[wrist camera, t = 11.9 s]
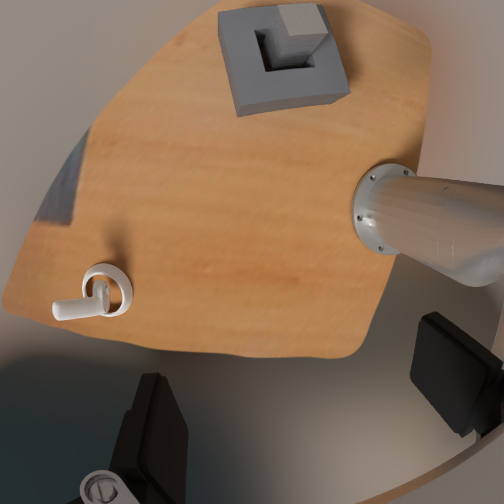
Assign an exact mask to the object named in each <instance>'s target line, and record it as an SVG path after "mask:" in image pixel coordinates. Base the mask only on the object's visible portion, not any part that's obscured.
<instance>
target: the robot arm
mask: <svg viewBox="0 0 504 504" xmlns="http://www.w3.org/2000/svg"><path fill="white" fill-rule="evenodd" d="M370 176H371V179H370ZM351 215H352V222H353V226H354V229H355V231H356V233H357V236H358V237H359V239H360V240H361V241H362V243H363V244H364V245H365V246H367V247H368V248H369V249H371V250H372V251H374V252H376V253H378V254H382V255H396V254H399V253H404V254H406V255H408V256H410V257H412V258H414V259H416V260H418V261H420V262H422V263H424V264H426V265H428V266H430V267H432V268H433V269H435V270H437V271H439V272H441V273H443V274H445V275H447V276H449V277H451V278H453V279H455V280H456V281H458V282H460V283H462V284H465V285H468V286H483V285H487V284H490V283H492V282H494V281H496V280H498V279H500V278H501V277H503V276H504V186H500V185H491V184H483V183H476V182H467V181H459V180H449V179H440V178H428V177H418V176H417V175H416V174H415V173H414V172H413V171H412V170H410V169H409V168H407V167H405V166H403V165H400V164H395V163H387V164H381V165H378V166H376V167H374V168H372V169H371V170H369V171H368V172H367V173H366V174H365V175H364V176H363V177H362V179H361V180H360V182H359V183H358V185H357V187H356V189H355V192H354V195H353V199H352V207H351ZM357 216H359V217H358V219H357ZM410 379H411V381H412V382H413V383H414V384H415V386H416V387H417V388H418V389H419V391H420V392H421V393H422V394H423V395H424V396H425V398H426V399H427V400H428V401H429V402H430V404H431V405H432V406H433V407H434V408H435V410H436V411H437V412H438V413H439V414H440V415H441V417H442V418H443V419H444V421H445V422H446V423H447V424H448V425H449V427H450V428H451V429H452V430H453V431H454V432H455V433H459V435H460V436H461V437H462V438H463V437H464V436H466V435H467V434H469V433H471V432H472V430H473V429H475V430H476V442H475V443H474V444H473V445H472V446H470V447H469V448H467V449H466V450H464V451H463V452H461V453H459V454H458V455H456V456H455V457H453V458H451V459H450V460H448V461H447V462H445V463H443V464H441V465H440V466H438V467H436V468H434V469H432V470H431V471H429V472H427V473H425V474H423V475H421V476H419V477H417V478H415V479H413V480H411V481H409V482H407V483H405V484H403V485H401V486H398V487H396V488H394V489H392V490H389V491H387V492H385V493H382V494H380V495H377V496H375V497H372V498H370V499H367V500H364V501H362V502H359V503H356V504H504V305H503V310H502V314H501V318H500V322H499V326H498V330H497V334H496V338H495V341H494V344H493V348H492V351H491V352H490V351H489V350H487V349H486V348H485V347H484V346H482V345H481V344H480V343H479V342H477V341H476V340H474V339H473V338H472V337H470V336H469V335H468V334H467V333H465V332H464V331H462V330H461V329H460V328H459V327H457V326H456V325H455V324H453V323H452V322H451V321H449V320H448V319H446V318H445V317H444V316H442V315H441V314H440V313H438V312H432V313H429V314H426V315H424V316H423V317H422V319H421V321H420V322H419V325H418V332H417V338H416V344H415V350H414V355H413V361H412V366H411V371H410ZM187 449H188V428H187V425H186V423H185V420H184V418H183V416H182V414H181V411H180V409H179V407H178V405H177V402H176V400H175V398H174V395H173V393H172V390H171V388H170V385H169V383H168V380H167V378H166V377H165V376H161V374H159V373H158V372H157V373H144V374H142V376H141V380H140V382H139V385H138V389H137V392H136V395H135V398H134V402H133V405H132V408H131V410H128V411H126V413H125V415H124V418H123V421H122V425H121V428H120V431H119V435H118V438H117V441H116V445H115V449H114V452H113V456H112V459H111V463H110V467H109V470H108V471H105V470H101V471H95V472H92V473H91V474H89V475H88V476H86V477H85V478H84V480H83V481H82V483H81V486H80V494H81V496H80V497H78V498H76V499H75V500H73V501H71V502H69V503H67V504H185V495H186V469H187Z"/></svg>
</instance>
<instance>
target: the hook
mask: <svg viewBox="0 0 504 504" xmlns="http://www.w3.org/2000/svg"><path fill="white" fill-rule="evenodd" d="M97 274H102V275H106V276H109V277H110V278H112V279H113V280H114V281H115V282H116V283H117V284H118V285H119V287H120V289H121V292H122V296H123V300H122V304H121V307H120V308H119V309H118V310H117V311H116V312H113V313H107V312H108V310H109V307H110V298H109V294H110V287H108V284H107V282H106V281H103V280H97V281H95V282H94V284H93V297H88V296H87V292H86V283H87V281H88V279H89V278H91V277H92V276H94V275H97ZM82 292H83V296H84V298H78V299H67V300H58V301H55V302H54V303H53V315H54V316H55V318H56V319H57V320H68V319H75V318H83V317H90V316H96V315H102V316H107V317H113V316H117V315H120V314H122V313H124V312H125V311H126V310H127V309H128V308H129V307H130V305H131V303H132V299H133V291H132V286H131V283H130V281H129V279H128V277H127V276H126V275H125V274H124V272H122V271H121V270H120V269H119V268H117V267H116V266H113V265H111V264H106V263H100V264H96V265H94V266H92V267H91V268H90V269H88V271H87V272H86V274H85V276H84V279H83V284H82Z"/></svg>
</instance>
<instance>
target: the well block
mask: <svg viewBox="0 0 504 504" xmlns="http://www.w3.org/2000/svg"><path fill="white" fill-rule="evenodd" d="M316 6H317V8H318V10H319V13H320V15H321V17H322V19H323V22H324V24H325V26H326V29H327V31H328V34H327V35H326V36H325V37H324V39H323V40H322V41H321V42H320V43H319V45H318V46H317V47H316V48H315V49H314V51H313V52H312V53H311V54H310V56H309V57H308V58H307V59H306V61H305V62H304V63H303V64H302V66H301V67H300V68H299V69H289V70H279V71H271V72H265V68H264V65H263V61H262V57H261V53H260V50H259V49H261V48H262V45H263V42H264V40H265V37H266V34H267V31H268V28H269V26H270V23H271V20H272V17H273V15H274V12H275V9H276V7H277V6H263V7H252V8H243V9H235V10H228V11H222V12H218V37H219V41H220V45H221V49H222V53H223V58H224V62H225V66H226V70H227V75H228V79H229V83H230V87H231V92H232V96H233V100H234V105H235V109H236V113H237V117H242V116H247V115H252V114H258V113H264V112H270V111H276V110H283V109H290V108H298V107H306V106H315V105H325V104H332V103H334V102H335V101H337V100H339V99H341V98H342V97H344V96H346V95H348V94H349V93H351V92H350V89H349V85H348V81H347V78H346V74H345V71H344V67H343V64H342V61H341V57H340V54H339V51H338V48H337V45H336V42H335V39H334V36H333V33H332V30H331V27H330V25H329V22H328V19H327V17H326V14H325V11H324V9H323V6H322V5H316Z"/></svg>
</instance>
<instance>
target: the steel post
mask: <svg viewBox="0 0 504 504" xmlns="http://www.w3.org/2000/svg"><path fill="white" fill-rule="evenodd" d="M327 34H328V31H327V29H326V26H325V24H324V22H323V19H322V17H321V15H320V13H319V10H318V8H317V6H316V4H315V3H297V4H284V5H277V7H276V9H275V12H274V15H273V17H272V20H271V23H270V26H269V28H268V31H267V34H266V37H265V40H264V42H263V45H262V48H261V51H260V53H261V57H262V61H263V65H264V68H265V72H271V71H279V70H289V69H299V68H300V67H301V66H302V64H303V63H304V62H305V61H306V59H307V58H308V57H309V56H310V54H311V53H312V52H313V51H314V49H315V48H316V47H317V46H318V45H319V43H320V42H321V41H322V40H323V39H324V37H325V36H326V35H327Z"/></svg>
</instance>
